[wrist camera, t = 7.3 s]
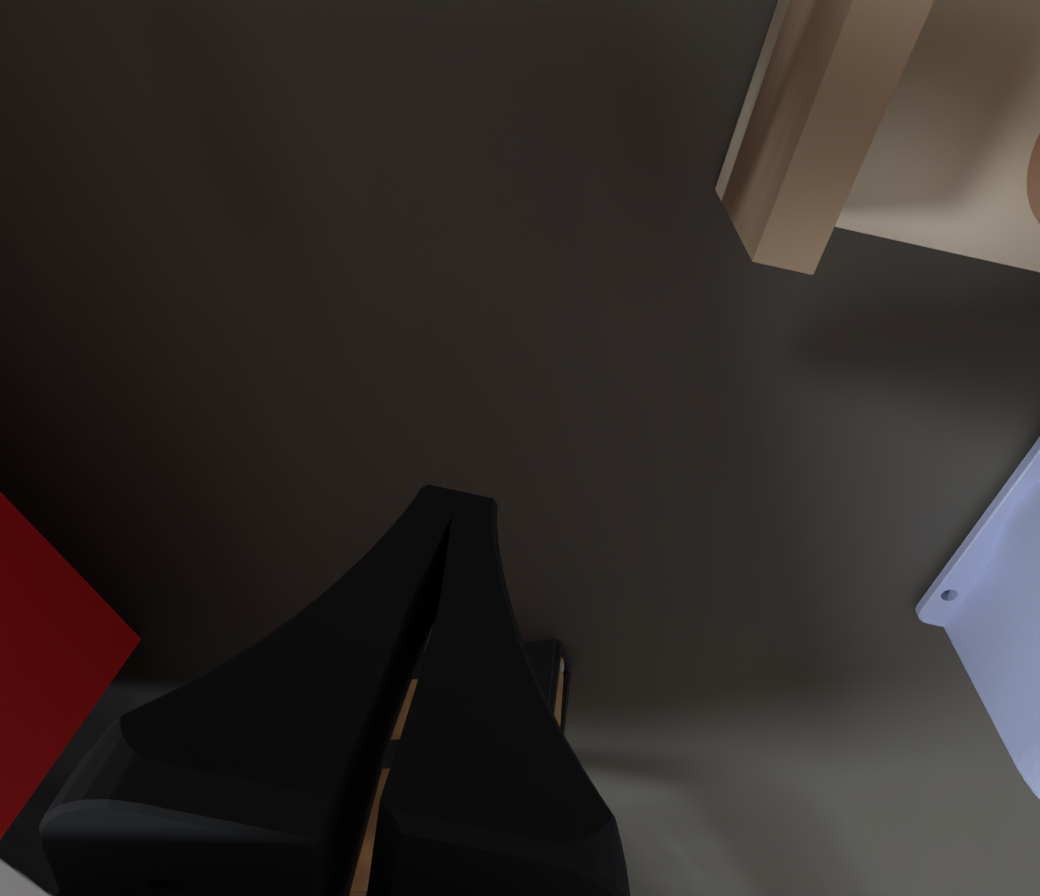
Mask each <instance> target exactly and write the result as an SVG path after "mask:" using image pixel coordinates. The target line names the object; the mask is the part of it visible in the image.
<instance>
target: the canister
mask: <svg viewBox="0 0 1040 896" xmlns="http://www.w3.org/2000/svg"><path fill="white" fill-rule="evenodd" d="M1027 195H1028V200H1029V205H1030V207H1031V210H1032V212H1033V215H1034V216H1035V218H1036V219H1037V221H1038V223H1039V224H1040V134H1039V136H1038V138H1037V140H1036V142H1035V145H1034V148H1033V150H1032V153H1031V157H1030V161H1029V165H1028V171H1027Z"/></svg>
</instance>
